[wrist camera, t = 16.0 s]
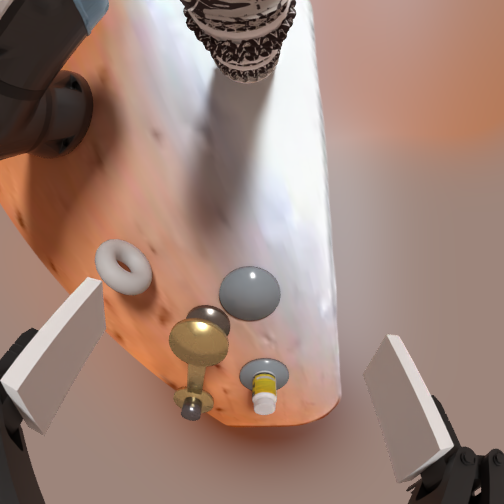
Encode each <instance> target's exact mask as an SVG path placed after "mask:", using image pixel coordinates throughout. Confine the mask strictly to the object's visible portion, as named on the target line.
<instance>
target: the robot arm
mask: <svg viewBox="0 0 504 504" xmlns="http://www.w3.org/2000/svg"><path fill="white" fill-rule="evenodd" d="M108 7H109V2H108V0H0V160H2V159H6V158H9V157H13V156H17V155H20V154H24V153H28V154H32V155H35V156H39V157H42V158H55V157H59V156H63V155H65V154H67V153H69V152H71V151H72V150H73V149H74V148H75V147H76V146H77V145H78V144H79V143H80V142H81V140H82V139H83V137H84V136H85V134H86V132H87V129H88V127H89V124H90V121H91V117H92V110H93V99H92V93H91V90H90V87H89V85H88V83H87V81H86V80H85V79H84V78H83V77H82V76H81V75H79V74H77V73H75V72H71V71H65V70H61V68H62V67H63V66H64V64H65V63H66V62H67V60H68V59H69V58H70V56H71V55H72V54H73V52H74V51H75V50H76V49H77V47H78V46H79V45H80V44H81V42H82V41H83V40H84V39H85V38H86V36H89V35H90V34H91V30H92V29H93V28H94V27H95V25H96V24H97V23H98V22H99V21H100V20H101V18H102V17H103V16H104V15H105V14H106V12H107V10H108ZM105 330H106V323H105V313H104V302H103V287H102V281H100V280H97V279H93V278H89V277H87V278H86V280H85V281H84V282H83V283H82V284H81V285H80V286H79V287H78V288H77V289H76V290H75V291H74V292H73V293H72V294H71V295H70V296H69V298H68V299H67V300H66V301H65V302H64V303H63V304H62V305H61V306H60V307H59V308H58V310H57V311H56V312H55V313H54V314H53V315H52V316H51V318H50V319H49V320H48V321H47V322H46V323H45V324H44V326H43V327H42V328H41V329H40V330H39V331H38V330H36V329H34V328H31V329H29V330H28V331H26V332H25V333H22V334H21V336H20V337H19V338H18V339H17V340H16V341H15V344H13V345H12V346H11V347H10V349H9V351H7V352H6V353H5V355H4V356H3V357H2V358H1V360H0V504H45V502H44V499H43V496H42V494H41V491H40V489H39V486H38V483H37V480H36V477H35V474H34V471H33V468H32V465H31V462H30V458H29V455H28V451H27V447H26V443H25V440H24V435H23V431H22V428H21V425H20V424H21V422H22V420H23V419H24V421H25V422H26V424H27V425H28V427H30V428H31V429H33V430H35V431H37V432H39V433H40V434H42V435H44V436H45V434H46V432H47V430H48V428H49V426H50V424H51V422H52V420H53V418H54V417H55V415H56V413H57V411H58V409H59V407H60V405H61V403H62V401H63V400H64V398H65V396H66V394H67V393H68V391H69V389H70V387H71V386H72V384H73V382H74V380H75V379H76V377H77V375H78V373H79V372H80V370H81V368H82V367H83V365H84V363H85V362H86V360H87V358H88V357H89V355H90V353H91V352H92V350H93V349H94V347H95V345H96V344H97V342H98V341H99V339H100V337H101V336H102V334H103V333H104V331H105ZM363 377H364V379H365V382H366V385H367V388H368V391H369V394H370V396H371V400H372V403H373V406H374V408H375V412H376V415H377V418H378V421H379V424H380V427H381V430H382V433H383V436H384V440H385V443H386V446H387V450H388V453H389V457H390V460H391V464H392V467H393V471H394V474H395V478H396V482H397V483H402V482H406V481H410V480H412V479H414V478H415V477H416V476H418V475H419V474H421V477H422V478H421V479H420V480H418V481H417V482H416V483H414V484H413V485H411V486H410V487H408V489H407V490H406V491H410V490H411V489H413V488H414V487H415V489H414V490H413V491H412V492H411V493H412V496H411V498H410V500H409V503H408V504H504V454H503V452H502V451H500V450H499V449H493V450H491V451H490V452H489V453H488V454H487V455H485V456H481V455H476V454H475V453H474V452H473V450H471V449H470V448H468V447H461V446H460V443H459V441H458V439H457V436H456V434H455V432H454V430H453V428H452V425H451V423H450V421H448V417H447V415H446V414H445V411H444V409H443V407H442V405H441V403H440V402H439V401H438V400H437V398H436V397H434V395H430V393H429V391H428V389H427V387H426V385H425V383H424V381H423V379H422V377H421V375H420V374H419V372H418V370H417V368H416V366H415V364H414V362H413V360H412V359H411V357H410V355H409V353H408V351H407V350H406V348H405V346H404V344H403V342H402V341H401V339H400V337H399V336H398V335H386V336H385V338H384V339H383V341H382V343H381V345H380V347H379V348H378V350H377V352H376V354H375V355H374V357H373V358H372V360H371V362H370V363H369V365H368V366H367V368H366V370H365V371H364V373H363ZM480 487H481V493H479V494H478V495H476V496H475V494H474V491H476V490H477V489H479V488H480Z"/></svg>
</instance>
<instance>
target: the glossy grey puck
mask: <svg viewBox="0 0 504 504" xmlns="http://www.w3.org/2000/svg"><path fill="white" fill-rule="evenodd" d="M219 297H220V301H221V304H222V306H223V307H224V309H225V310H226V311H227V312H228V313H230V314H231V315H233V316H234V317H236V318H239V319H243V320H258V319H261V318H264V317H266V316H268V315H269V314H271V313H272V312H273V311H274V310H275V309H276V307H277V306H278V304H279V301H280V288H279V284H278V282H277V280H276V279H275V278H274V276H273V275H271V274H270V273H269V272H268V271H266V270H264V269H261V268H258V267H251V266H248V267H241V268H238V269H235V270H233V271H232V272H230V273H229V274H228V275H227V276H226V277H225V278H224V280H223V281H222V283H221V286H220V291H219Z"/></svg>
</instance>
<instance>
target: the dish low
mask: <svg viewBox="0 0 504 504" xmlns="http://www.w3.org/2000/svg"><path fill="white" fill-rule="evenodd" d="M259 371H270V372H272V373H273V374H274V375H275V377H276V390H278V389H280V388H282V387H283V386H284V385H285V384H286V383H287V381H288V379H289V372H288V369H287V367H286V366H285V365H284V364H283V363H281V362H280V361H277V360H274V359H269V358H261V359H256V360H252V361H250V362H248V363H247V364H245V365H244V366H243V367H242V369H241V371H240V381H241V383H242V384H243V385H244V386H245V387H246V388H248V389H250V390H252V381H253V376H254V374H255V373H257V372H259Z"/></svg>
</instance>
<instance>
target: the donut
mask: <svg viewBox="0 0 504 504" xmlns="http://www.w3.org/2000/svg"><path fill="white" fill-rule="evenodd" d="M117 260H118V261H121V262H123V263H124V264H125V265H127V267H128V268H129V269H130V270H131V272H128V271H126V270H124V269H123V268H122V267H121V266H120V265H119V264H118V262H117ZM95 265H96V269H97V271H98V273H99V275H100V277H101V278H102V280H103V281H104V282H105V283H106V284H107V285H108V286H109V287H111V288H112V289H114V290H115V291H117V292H120V293H122V294H125V295H137V294H140V293H143V292H144V291H145V290H146V289H147V288H148V287H149V286H150V284H151V281H152V269H151V266H150V264H149V261H148V260H147V258H146V257H145V255H144V254H143V253H142V252H141V251H140V250H139V249H138V248H137V247H135V246H134V245H132V244H131V243H129V242H126V241H124V240H119V239H110V240H108V241H106V242H104V243H102V244H101V245H100V246H99V248H98V249H97V251H96V255H95Z"/></svg>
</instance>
